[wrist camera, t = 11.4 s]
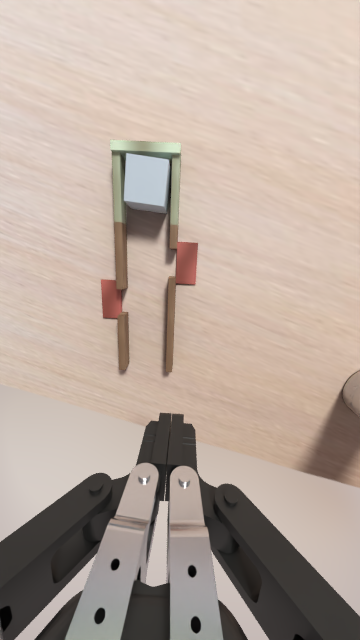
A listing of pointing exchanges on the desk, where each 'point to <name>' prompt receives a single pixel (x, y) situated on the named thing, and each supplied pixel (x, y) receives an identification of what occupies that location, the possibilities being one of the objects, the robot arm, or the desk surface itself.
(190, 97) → the desk surface
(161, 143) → the frame
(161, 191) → the slate block
